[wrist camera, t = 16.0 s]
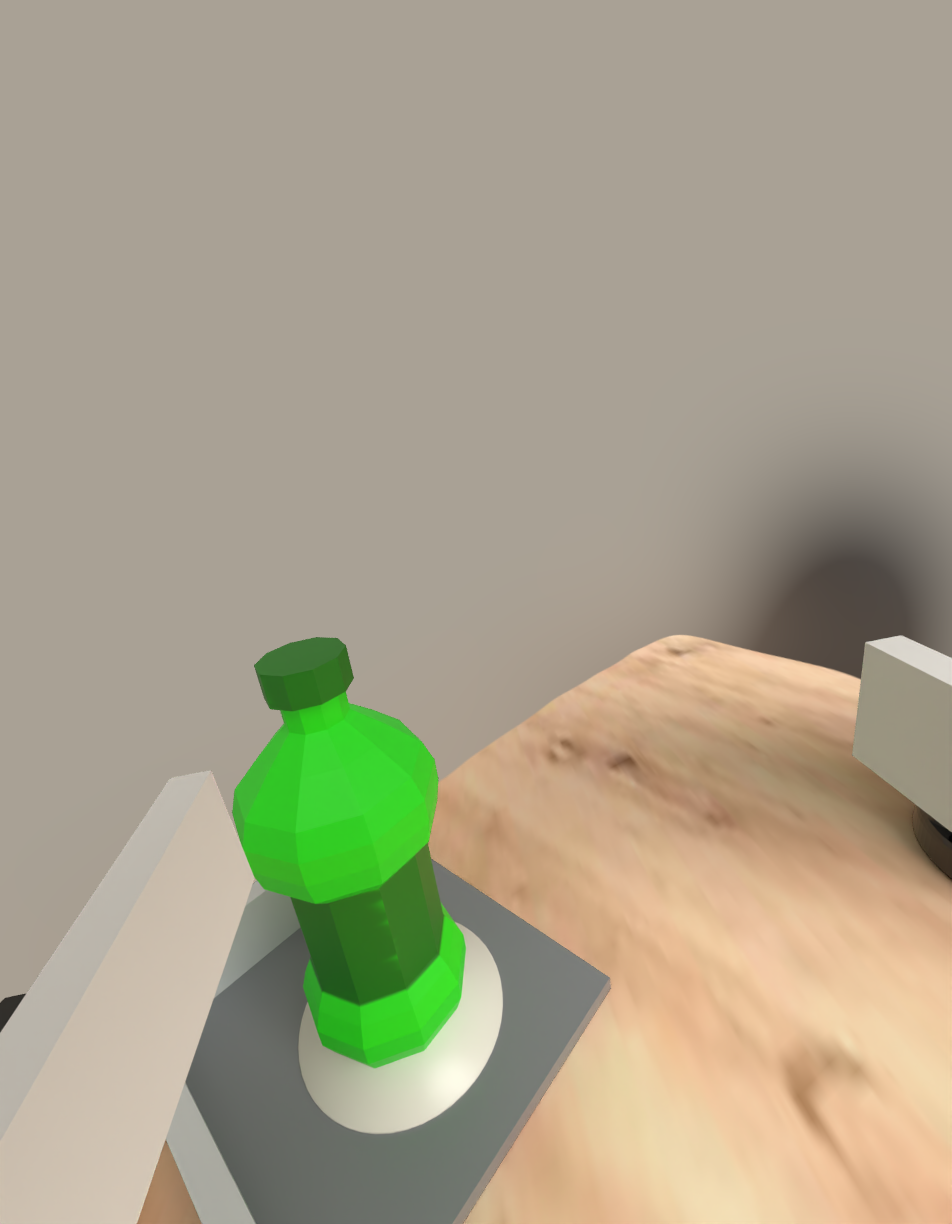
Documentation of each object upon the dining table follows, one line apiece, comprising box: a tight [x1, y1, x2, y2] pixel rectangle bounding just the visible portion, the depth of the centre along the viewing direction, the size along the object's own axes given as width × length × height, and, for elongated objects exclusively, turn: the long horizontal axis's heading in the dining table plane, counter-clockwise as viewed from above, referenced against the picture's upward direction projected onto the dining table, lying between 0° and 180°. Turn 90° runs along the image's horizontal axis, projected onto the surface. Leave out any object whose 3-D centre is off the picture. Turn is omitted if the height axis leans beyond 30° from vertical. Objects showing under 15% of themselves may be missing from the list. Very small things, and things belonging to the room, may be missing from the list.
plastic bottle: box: [232, 637, 466, 1069], centre depth 30 cm, size 10×10×25 cm
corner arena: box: [166, 859, 611, 1224], centre depth 34 cm, size 22×22×6 cm
